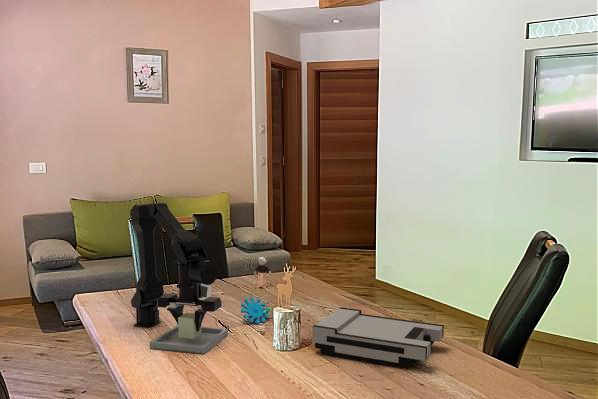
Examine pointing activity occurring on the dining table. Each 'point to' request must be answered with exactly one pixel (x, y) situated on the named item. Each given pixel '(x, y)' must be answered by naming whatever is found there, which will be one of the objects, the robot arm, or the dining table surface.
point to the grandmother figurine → (262, 273)
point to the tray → (189, 341)
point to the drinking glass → (207, 291)
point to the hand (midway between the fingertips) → (189, 330)
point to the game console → (375, 338)
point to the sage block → (187, 326)
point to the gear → (255, 310)
